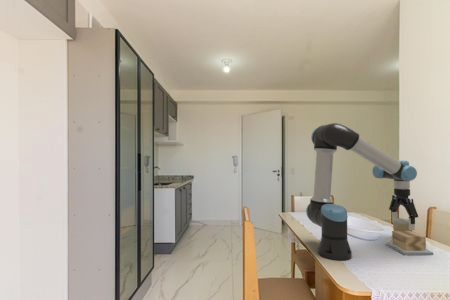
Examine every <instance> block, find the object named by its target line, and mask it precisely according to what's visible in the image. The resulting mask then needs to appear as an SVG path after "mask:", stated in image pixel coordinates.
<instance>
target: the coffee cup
mask: <svg viewBox="0 0 450 300" xmlns="http://www.w3.org/2000/svg"><path fill="white" fill-rule="evenodd" d="M392 227H393V229H392V230H393V231H413V230H409V218H403V217H402V218H401V217H400V218H399V217H398V218H394V219H393V223H392Z"/></svg>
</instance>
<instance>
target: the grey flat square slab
mask: <svg viewBox="0 0 450 300" xmlns="http://www.w3.org/2000/svg"><path fill="white" fill-rule="evenodd" d="M385 244H386V246H387V248H388V247H389V249H390V248H391V249H392V250H393V251H396V252H398V253H399V254H401V255H402V256H434V252H433V251H431V250H428V249H426V251H404V250H402V249H401V248H399V247H397V246H395V245H393V244H392V243H390V242H387V243H385Z"/></svg>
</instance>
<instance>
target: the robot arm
mask: <svg viewBox="0 0 450 300" xmlns="http://www.w3.org/2000/svg"><path fill="white" fill-rule="evenodd" d="M310 140H311V142H312V144H313V150H314V151H315V153H316V154H315V155H316V157H315V171H314V184H313V185H314V186H313V196H311V198H310V199H309V201H310V202H309V203H308V205H307V207H306V208H305V209H306V210H305V213H306V217H307V218H308V219H309V220H310V221H311V223H312V224H314V225H317V226H319V227H320V228H321V237H320V240H319V244H318V247H317V254H319V256H321V257H322V258H325V259H329V260H335V261H347V260H348V261H349V260H350V259H352V257H353V255H352V249H351V246H350V244H349V241H348V240H349V239H348V211H347V209H346V207H345V206H342V205H340V204H336V203H334V200H332V197H331V194H332V193H331V192H332V179H333V165H334V154H335V153H336V152H337V151H338V147H339V148H342V149H344V150H346V151H352V152H353V153H355V154H357V155H358V156H360V157H362V158H363V159H364V160H367V161H368V162H370V163H371V164H372V165H374V166H373V167H372V169H371V170H372V175H373V177H374V178H376V179H390V180H393V187H394V188H393V195H392V196H391V200H390V205H389V207H388V210H389V211H390V212H391V218H392V219H391V220H392V221H391V222H392V224H393V219H394V218H399V217H398V214H399V212H398V209H399V208H400V206H402V207H404V209H405V211H406V213H407V215H408V220H409V230H412V231H415V230H416V227H415V226H416V218H419V214H418V211H417V209H416V208H417V207H416V205H415V203H414V198H409V196H411V182H412V181H414V180H415V179H416V178H417V176H418V171H417V169H416V167H414V166H412V165H410V163H409V161H408V160H398V159H396V158H394V157H392V156H390V155H389V154H387V153H386V152H384V151H383V150H381V149H379V148H378V147H377V146H375V145H373V144H371V143H370V142H368V141H366V140H365V139H364V138H362V137H361V136H360V134H359V133H358V132H356V131H354V130H353V129H351V128H349V127H348V126H345V125H343V124H341V123H337V122H332V123H329V124H323V125H320V126H318V127H316V128H314V129H313V131H312V133H311V139H310Z"/></svg>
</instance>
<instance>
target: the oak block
mask: <svg viewBox="0 0 450 300" xmlns="http://www.w3.org/2000/svg"><path fill="white" fill-rule="evenodd" d="M391 231H392V232H391V235H392V237H391V238H392V239H391V242H392V244H393V245H395V246H397V247H399V248H401V249H402V250H404V251H426V250H427V242H426V241H427V240H426V238H427V236H425V235H423V234H420V233H418V232H414V230H412V231H394V230H391Z"/></svg>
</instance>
